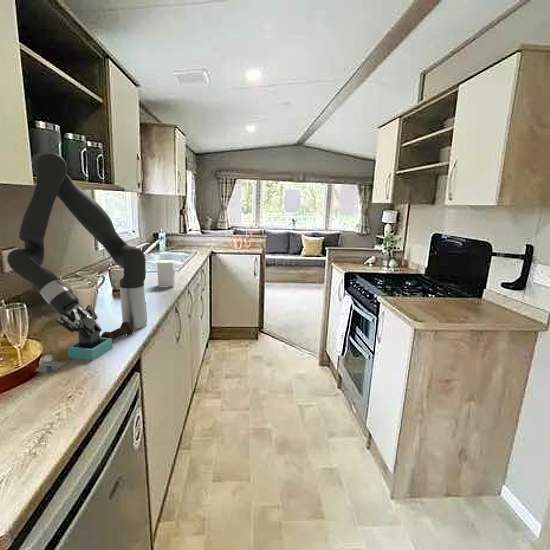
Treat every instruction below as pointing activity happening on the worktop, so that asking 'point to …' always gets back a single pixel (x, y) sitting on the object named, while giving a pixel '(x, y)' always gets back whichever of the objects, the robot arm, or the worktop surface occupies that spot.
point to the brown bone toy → (119, 331)
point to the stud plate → (49, 365)
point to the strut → (95, 335)
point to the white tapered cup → (166, 273)
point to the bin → (90, 350)
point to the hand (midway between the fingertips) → (94, 334)
